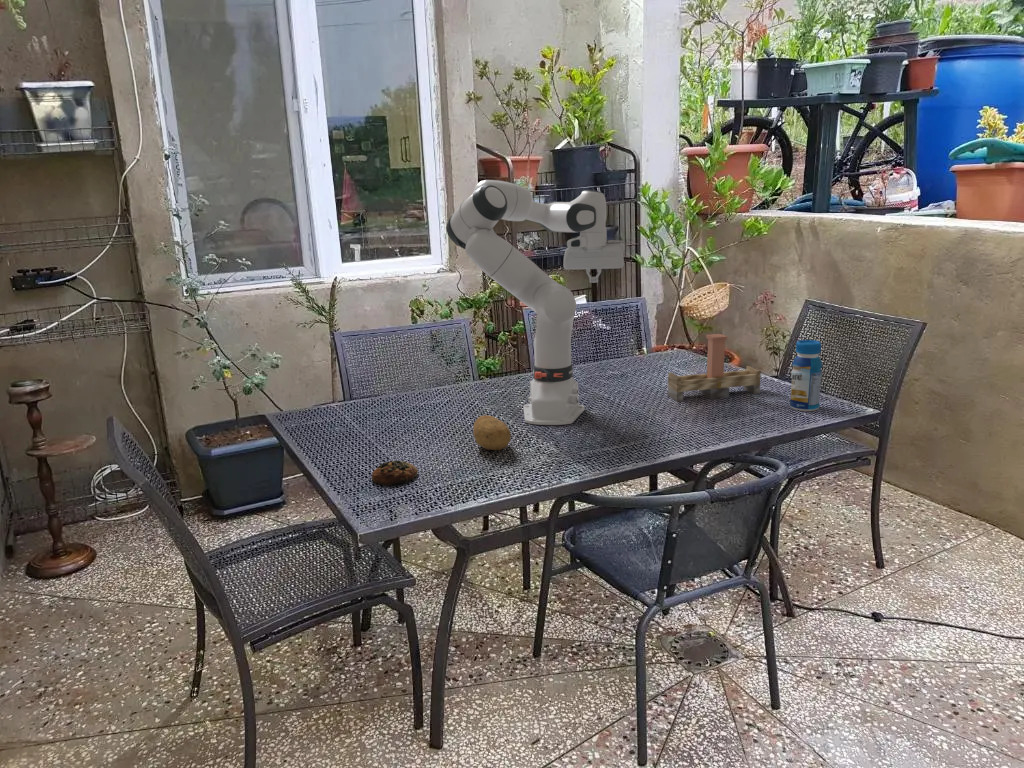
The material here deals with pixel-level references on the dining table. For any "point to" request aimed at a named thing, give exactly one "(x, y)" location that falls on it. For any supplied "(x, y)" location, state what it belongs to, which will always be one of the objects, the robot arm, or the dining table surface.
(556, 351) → the robot arm
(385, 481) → the bread roll
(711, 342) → the terracotta square pillar
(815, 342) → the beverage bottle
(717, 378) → the beam
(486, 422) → the potato
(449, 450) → the dining table surface
